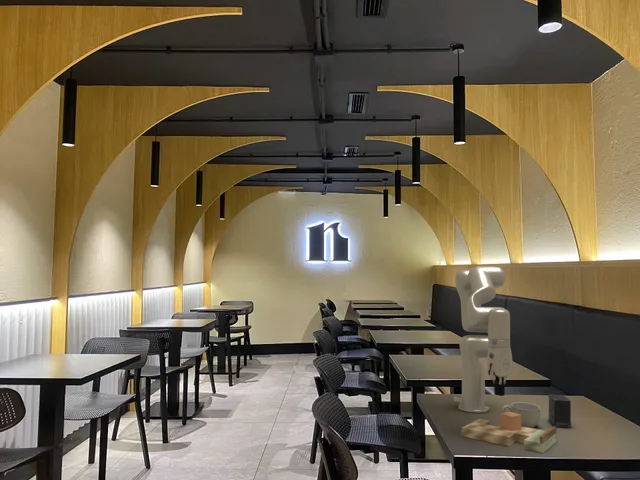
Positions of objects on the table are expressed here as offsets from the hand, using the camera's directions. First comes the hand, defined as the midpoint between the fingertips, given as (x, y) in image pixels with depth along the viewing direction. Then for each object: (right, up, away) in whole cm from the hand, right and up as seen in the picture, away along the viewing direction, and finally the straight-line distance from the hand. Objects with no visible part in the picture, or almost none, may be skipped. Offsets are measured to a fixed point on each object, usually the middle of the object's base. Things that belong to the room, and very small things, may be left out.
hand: (499, 394), depth 194 cm
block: (+4, -12, 0) cm, 12 cm away
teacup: (+13, -16, +14) cm, 25 cm away
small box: (+29, -17, +17) cm, 37 cm away
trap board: (+2, -15, -3) cm, 15 cm away
